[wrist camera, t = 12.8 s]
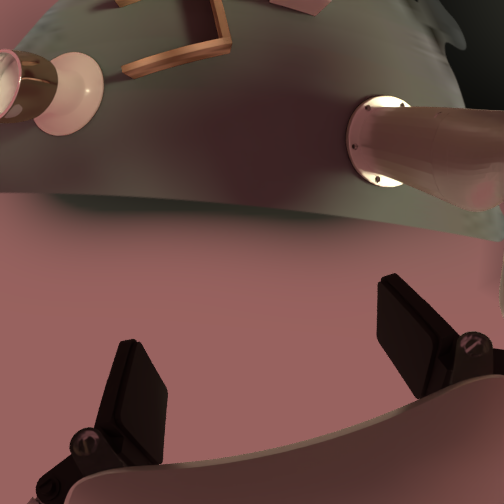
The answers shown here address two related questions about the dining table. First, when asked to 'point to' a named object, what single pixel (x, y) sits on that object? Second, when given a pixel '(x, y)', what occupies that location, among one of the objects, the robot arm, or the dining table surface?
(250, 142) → the dining table surface
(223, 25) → the wooden u-shaped bracket
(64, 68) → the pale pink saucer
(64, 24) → the dining table surface
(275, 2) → the pale pink cube
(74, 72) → the beer glass
